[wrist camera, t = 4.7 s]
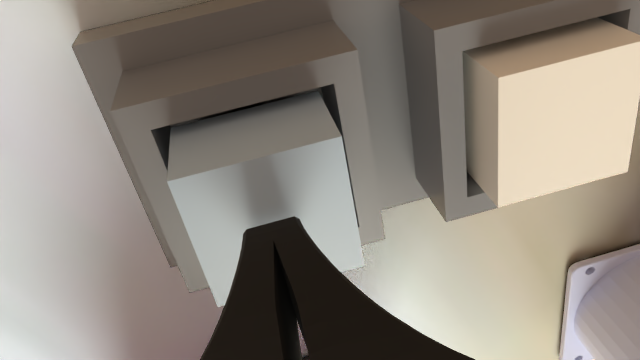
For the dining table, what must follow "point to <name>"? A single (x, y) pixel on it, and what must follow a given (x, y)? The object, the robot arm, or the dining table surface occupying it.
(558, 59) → the cream key
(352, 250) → the light gray key
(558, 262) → the dining table surface
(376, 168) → the key panel
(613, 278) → the robot arm
